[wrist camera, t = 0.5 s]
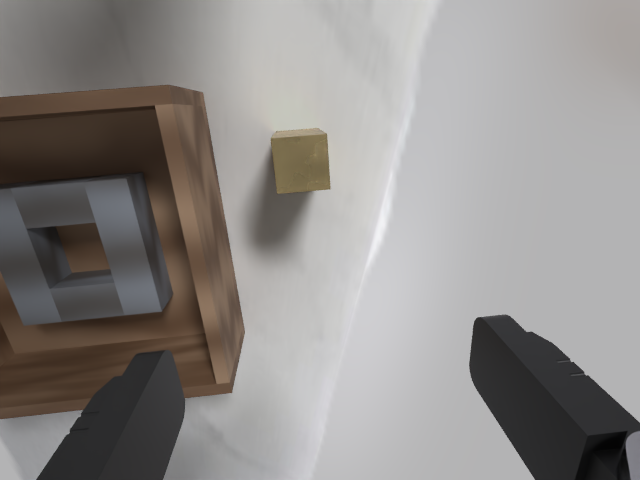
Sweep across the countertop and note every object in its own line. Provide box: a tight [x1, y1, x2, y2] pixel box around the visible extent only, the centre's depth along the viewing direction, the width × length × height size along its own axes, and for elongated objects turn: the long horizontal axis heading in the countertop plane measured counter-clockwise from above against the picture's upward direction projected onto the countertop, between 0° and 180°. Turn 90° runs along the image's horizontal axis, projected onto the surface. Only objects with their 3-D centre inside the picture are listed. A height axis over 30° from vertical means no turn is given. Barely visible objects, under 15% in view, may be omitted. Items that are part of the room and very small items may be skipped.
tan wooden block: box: [271, 128, 330, 194], centre depth 25 cm, size 3×3×8 cm
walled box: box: [0, 85, 245, 419], centre depth 27 cm, size 22×22×8 cm
